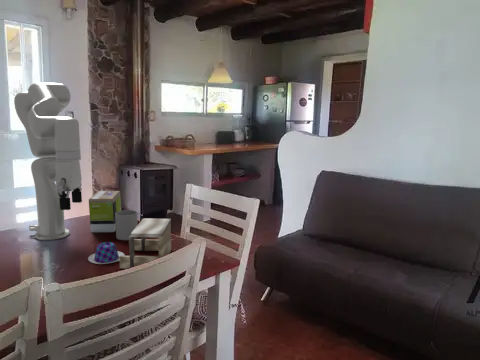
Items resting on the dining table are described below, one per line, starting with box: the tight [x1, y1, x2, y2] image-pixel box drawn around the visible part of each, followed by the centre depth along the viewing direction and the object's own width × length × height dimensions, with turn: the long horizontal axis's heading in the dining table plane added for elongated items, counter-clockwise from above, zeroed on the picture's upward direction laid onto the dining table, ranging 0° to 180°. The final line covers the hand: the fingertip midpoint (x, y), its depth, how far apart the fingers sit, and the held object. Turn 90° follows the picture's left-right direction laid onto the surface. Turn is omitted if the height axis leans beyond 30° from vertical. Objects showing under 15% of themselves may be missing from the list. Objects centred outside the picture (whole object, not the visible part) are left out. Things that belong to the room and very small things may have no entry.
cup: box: [115, 209, 139, 241], centre depth 155 cm, size 8×8×10 cm
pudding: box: [87, 241, 126, 265], centre depth 133 cm, size 12×12×5 cm
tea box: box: [88, 190, 122, 233], centre depth 166 cm, size 15×10×15 cm, turn 5°
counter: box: [118, 217, 172, 269], centre depth 133 cm, size 14×18×12 cm
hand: (71, 205), depth 130 cm, fingers open, 9 cm apart
